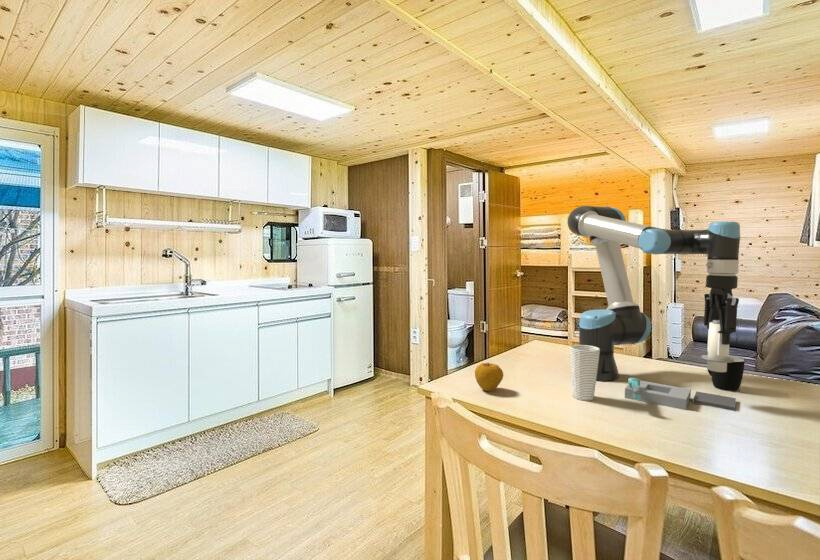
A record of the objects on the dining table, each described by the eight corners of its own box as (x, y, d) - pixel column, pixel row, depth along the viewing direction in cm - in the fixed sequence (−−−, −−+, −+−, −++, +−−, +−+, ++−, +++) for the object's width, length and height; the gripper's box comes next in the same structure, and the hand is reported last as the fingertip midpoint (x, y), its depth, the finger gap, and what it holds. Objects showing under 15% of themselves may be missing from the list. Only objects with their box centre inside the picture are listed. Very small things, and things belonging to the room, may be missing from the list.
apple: (505, 388, 143) (506, 360, 142) (499, 396, 135) (499, 367, 134) (478, 384, 146) (479, 357, 146) (470, 391, 138) (471, 364, 138)
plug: (699, 370, 129) (701, 320, 129) (701, 365, 136) (704, 317, 135) (733, 375, 125) (735, 323, 124) (733, 369, 131) (736, 320, 130)
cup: (597, 394, 137) (598, 345, 136) (599, 403, 129) (601, 351, 128) (568, 391, 139) (569, 343, 138) (568, 400, 131) (570, 349, 130)
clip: (627, 382, 137) (628, 373, 137) (639, 383, 135) (639, 374, 135) (630, 399, 121) (631, 389, 121) (643, 400, 120) (644, 390, 120)
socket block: (624, 397, 134) (625, 385, 134) (632, 388, 144) (633, 376, 143) (685, 409, 124) (686, 396, 124) (690, 398, 134) (691, 386, 134)
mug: (750, 392, 141) (751, 361, 140) (725, 393, 140) (727, 361, 139) (718, 381, 153) (720, 352, 152) (695, 381, 151) (697, 353, 151)
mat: (692, 402, 130) (693, 399, 130) (696, 394, 138) (696, 391, 138) (734, 410, 124) (734, 407, 124) (735, 401, 132) (735, 398, 132)
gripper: (692, 273, 138) (689, 346, 139) (725, 276, 120) (721, 359, 122) (718, 273, 137) (714, 347, 138) (755, 276, 119) (750, 360, 121)
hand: (717, 352), depth 130 cm, fingers closed on plug, 5 cm apart
